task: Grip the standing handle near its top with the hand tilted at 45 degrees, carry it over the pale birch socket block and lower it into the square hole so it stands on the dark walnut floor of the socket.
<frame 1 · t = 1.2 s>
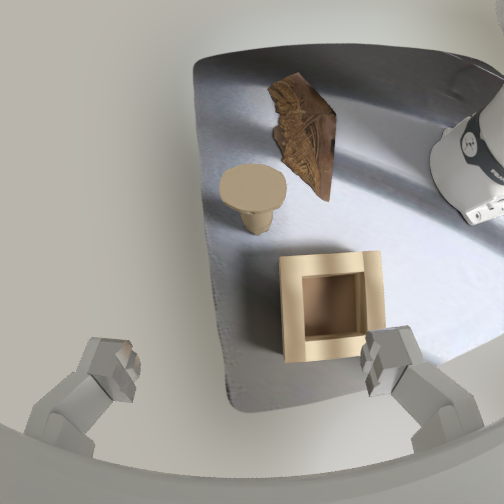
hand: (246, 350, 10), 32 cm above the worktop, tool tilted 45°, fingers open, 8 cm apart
handle: (258, 225, 43), on the worktop
socket block: (327, 305, 41), on the worktop
wooden fragment: (306, 130, 46), on the worktop
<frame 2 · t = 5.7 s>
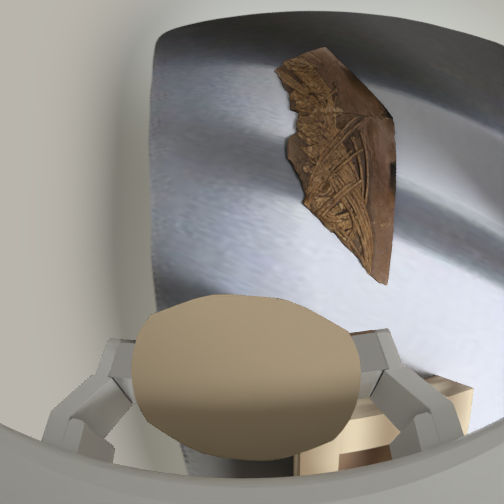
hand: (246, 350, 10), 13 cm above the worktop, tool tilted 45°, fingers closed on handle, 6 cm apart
handle: (257, 332, 22), on the worktop, touching gripper
socket block: (367, 455, 20), on the worktop
wooden fragment: (345, 144, 25), on the worktop
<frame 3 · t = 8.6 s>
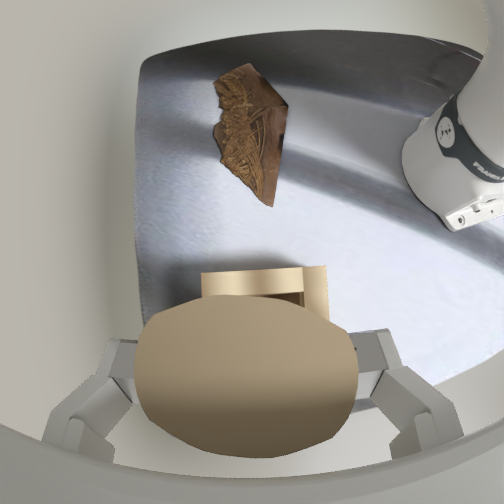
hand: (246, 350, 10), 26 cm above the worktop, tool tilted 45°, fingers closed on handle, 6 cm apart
handle: (257, 333, 23), point 13 cm above the worktop, touching gripper
socket block: (266, 328, 35), on the worktop
wooden fragment: (252, 126, 41), on the worktop
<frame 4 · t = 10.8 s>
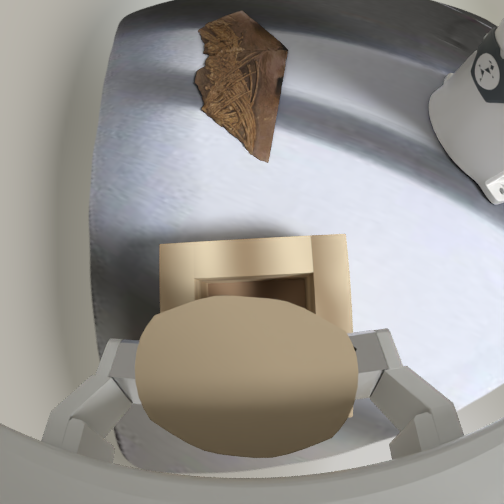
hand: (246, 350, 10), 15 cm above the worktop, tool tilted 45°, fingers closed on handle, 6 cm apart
handle: (257, 333, 23), point 2 cm above the worktop, touching gripper
socket block: (258, 329, 25), on the worktop
wooden fragment: (244, 71, 30), on the worktop
when the fingers open (15 cm above the worktop, at t = 11.5 s): handle drops 1 cm, resting on socket block.
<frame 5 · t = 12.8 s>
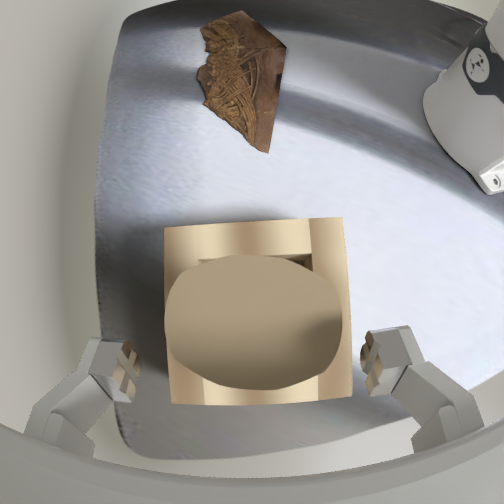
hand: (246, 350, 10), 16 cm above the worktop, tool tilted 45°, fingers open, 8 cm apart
handle: (259, 313, 25), resting on socket block
socket block: (258, 312, 26), on the worktop
wooden fragment: (244, 68, 31), on the worktop
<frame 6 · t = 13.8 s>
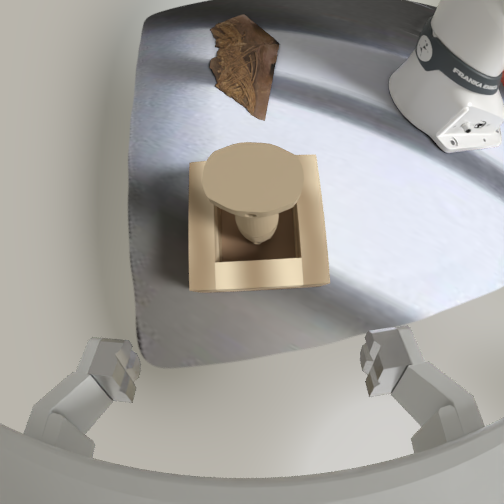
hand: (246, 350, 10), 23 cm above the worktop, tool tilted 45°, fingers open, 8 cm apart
handle: (258, 231, 33), resting on socket block
socket block: (257, 232, 34), on the worktop
wooden fragment: (246, 60, 39), on the worktop
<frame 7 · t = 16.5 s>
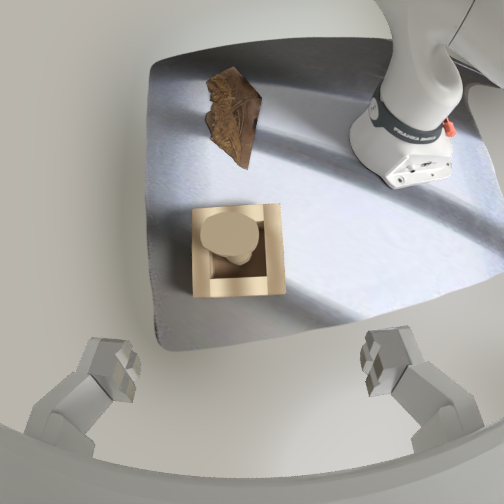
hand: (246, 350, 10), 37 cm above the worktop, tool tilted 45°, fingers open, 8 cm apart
handle: (240, 255, 48), resting on socket block
socket block: (240, 255, 48), on the worktop
wooden fragment: (235, 113, 54), on the worktop
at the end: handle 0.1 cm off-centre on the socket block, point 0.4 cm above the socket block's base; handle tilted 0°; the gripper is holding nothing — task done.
